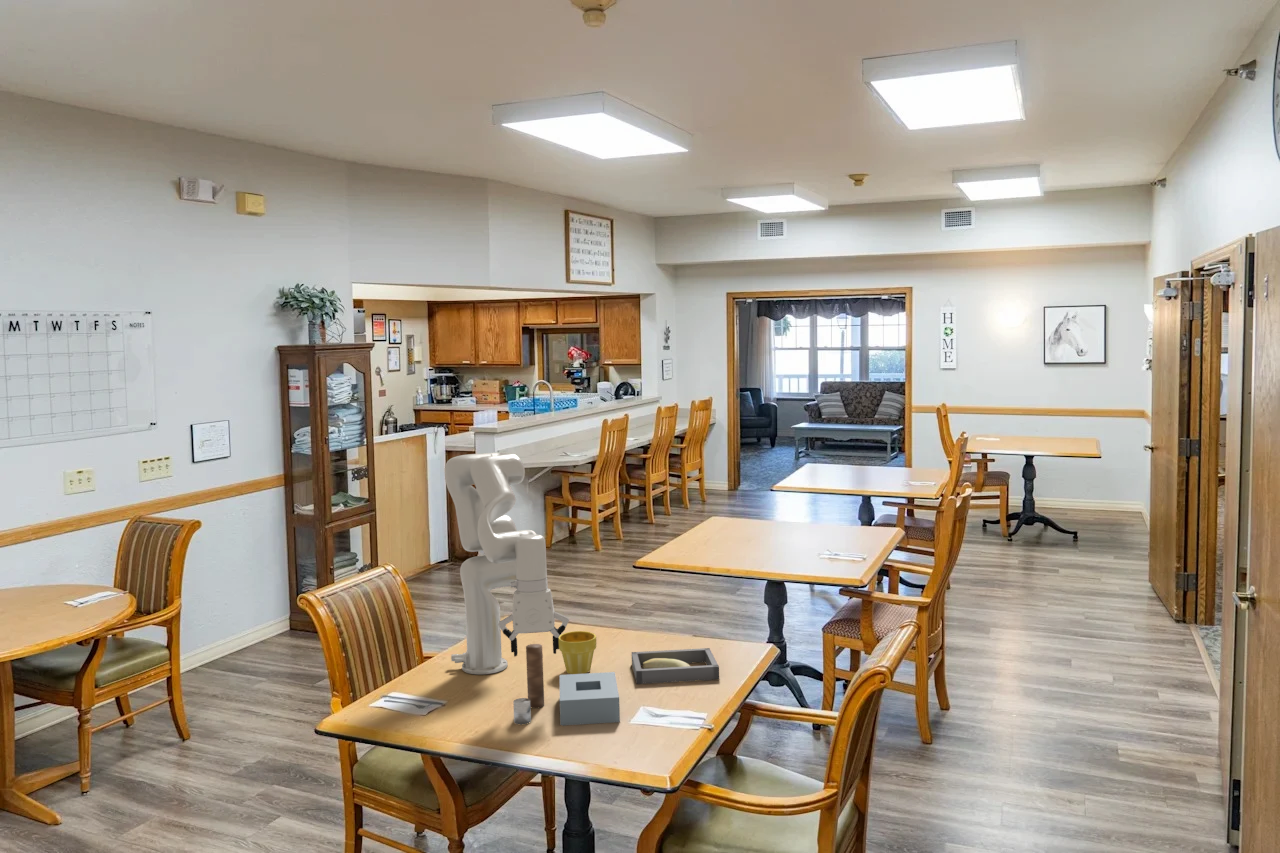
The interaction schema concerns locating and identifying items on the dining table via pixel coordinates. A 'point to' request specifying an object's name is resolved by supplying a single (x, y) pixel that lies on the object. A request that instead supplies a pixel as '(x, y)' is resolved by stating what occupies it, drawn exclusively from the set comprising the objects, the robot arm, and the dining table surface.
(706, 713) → the dining table surface
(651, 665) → the fruit
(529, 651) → the long walnut pin
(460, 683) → the dining table surface
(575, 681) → the hole block
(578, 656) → the plant pot
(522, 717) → the short steel pin
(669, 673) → the tray
